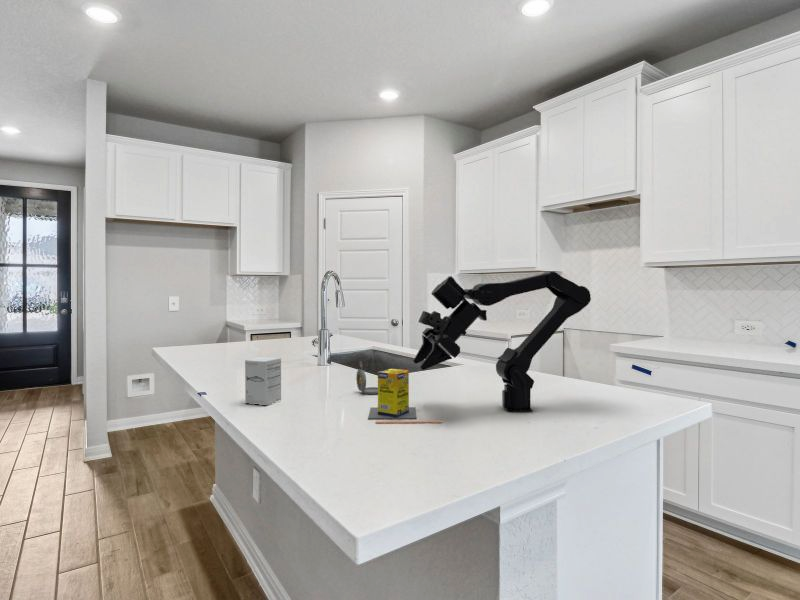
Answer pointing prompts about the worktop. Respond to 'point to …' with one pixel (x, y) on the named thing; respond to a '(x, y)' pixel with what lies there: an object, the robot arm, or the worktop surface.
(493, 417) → the worktop surface
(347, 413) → the worktop surface
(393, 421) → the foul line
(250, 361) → the supplement box
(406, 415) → the mat
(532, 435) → the worktop surface
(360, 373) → the pocket watch
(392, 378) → the supplement box
